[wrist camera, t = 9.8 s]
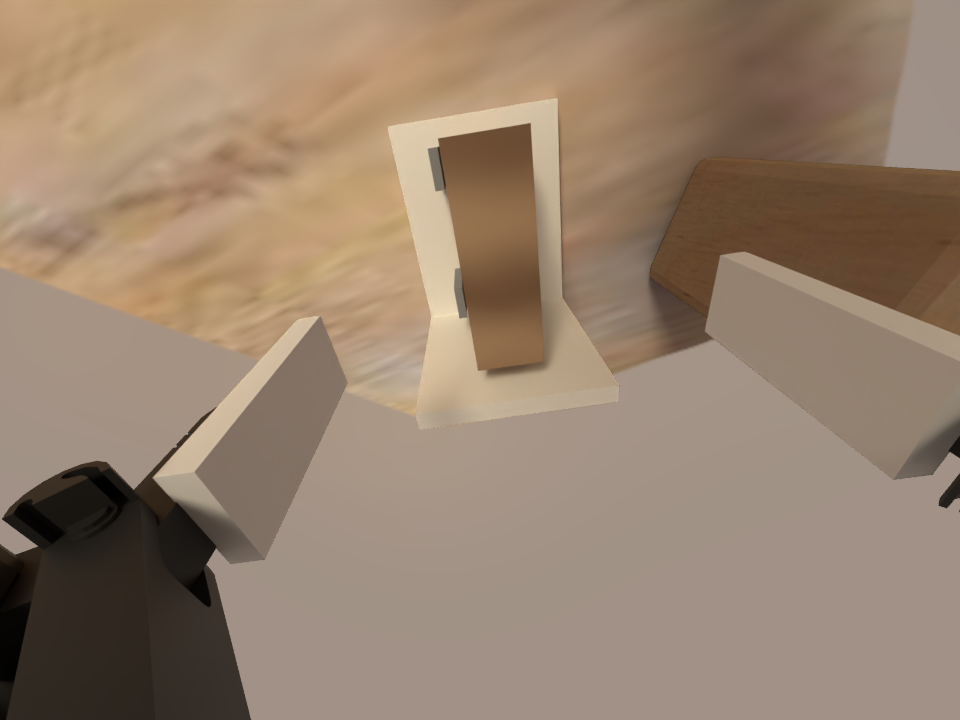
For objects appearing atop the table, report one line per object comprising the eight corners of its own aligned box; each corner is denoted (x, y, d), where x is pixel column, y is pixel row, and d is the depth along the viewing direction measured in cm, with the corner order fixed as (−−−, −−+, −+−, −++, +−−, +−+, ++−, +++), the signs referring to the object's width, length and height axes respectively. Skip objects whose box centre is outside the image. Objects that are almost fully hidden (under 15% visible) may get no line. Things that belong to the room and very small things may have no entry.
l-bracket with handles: (390, 127, 26) (323, 112, 14) (553, 99, 26) (643, 57, 13) (435, 323, 35) (419, 429, 22) (559, 304, 34) (618, 402, 21)
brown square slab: (447, 140, 26) (437, 138, 15) (502, 130, 26) (530, 122, 15) (472, 297, 32) (477, 371, 22) (517, 290, 32) (544, 361, 22)
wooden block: (641, 276, 33) (833, 418, 16) (695, 153, 28) (1056, 170, 11) (737, 295, 35) (1006, 445, 18) (804, 181, 30) (1273, 235, 13)
